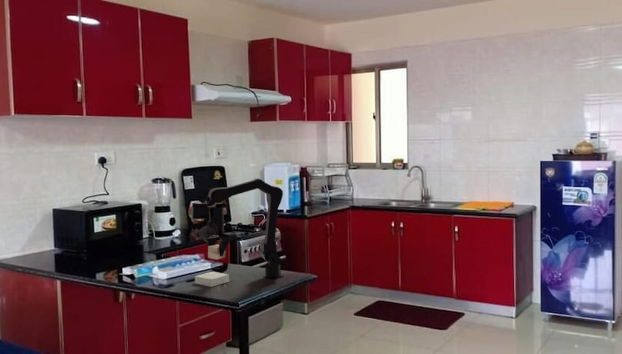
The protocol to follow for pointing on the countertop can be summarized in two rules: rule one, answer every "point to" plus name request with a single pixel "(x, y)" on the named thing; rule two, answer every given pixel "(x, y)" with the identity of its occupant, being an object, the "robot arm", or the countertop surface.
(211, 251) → the birch cube
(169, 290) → the countertop surface
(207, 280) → the riser
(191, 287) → the countertop surface
